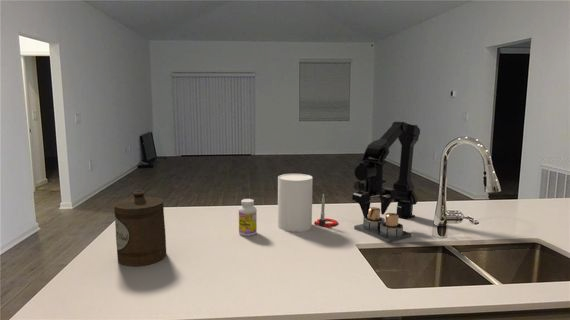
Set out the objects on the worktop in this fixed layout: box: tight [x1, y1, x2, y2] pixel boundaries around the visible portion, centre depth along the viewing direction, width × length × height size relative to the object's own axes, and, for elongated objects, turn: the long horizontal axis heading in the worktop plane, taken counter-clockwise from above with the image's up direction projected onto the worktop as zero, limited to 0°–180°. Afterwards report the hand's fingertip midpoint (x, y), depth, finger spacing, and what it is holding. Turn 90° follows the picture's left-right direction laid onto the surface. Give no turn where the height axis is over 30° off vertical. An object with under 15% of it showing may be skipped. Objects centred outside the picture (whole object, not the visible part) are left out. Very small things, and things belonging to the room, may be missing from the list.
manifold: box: [353, 212, 413, 244], centre depth 153 cm, size 18×12×8 cm, turn 33°
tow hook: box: [313, 193, 338, 228], centre depth 163 cm, size 8×13×9 cm
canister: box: [277, 173, 314, 233], centre depth 159 cm, size 14×14×20 cm
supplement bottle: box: [238, 198, 258, 237], centre depth 150 cm, size 7×7×13 cm
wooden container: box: [113, 189, 167, 267], centre depth 127 cm, size 15×15×22 cm
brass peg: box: [368, 206, 381, 221], centre depth 156 cm, size 4×4×7 cm
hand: (374, 216), depth 156 cm, fingers open, 9 cm apart
